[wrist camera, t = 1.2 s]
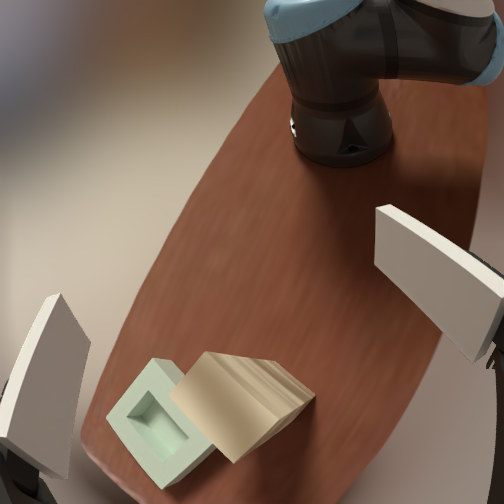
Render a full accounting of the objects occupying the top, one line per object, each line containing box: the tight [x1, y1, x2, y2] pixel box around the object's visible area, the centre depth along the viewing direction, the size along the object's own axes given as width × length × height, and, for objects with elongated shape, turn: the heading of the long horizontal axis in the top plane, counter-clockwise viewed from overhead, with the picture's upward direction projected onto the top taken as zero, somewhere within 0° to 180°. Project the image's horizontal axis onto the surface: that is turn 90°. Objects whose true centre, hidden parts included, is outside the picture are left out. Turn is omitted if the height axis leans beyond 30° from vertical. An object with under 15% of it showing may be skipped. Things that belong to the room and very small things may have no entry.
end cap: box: [106, 358, 217, 489], centre depth 29 cm, size 12×12×4 cm
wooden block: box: [169, 351, 316, 463], centre depth 22 cm, size 4×6×16 cm, turn 48°
